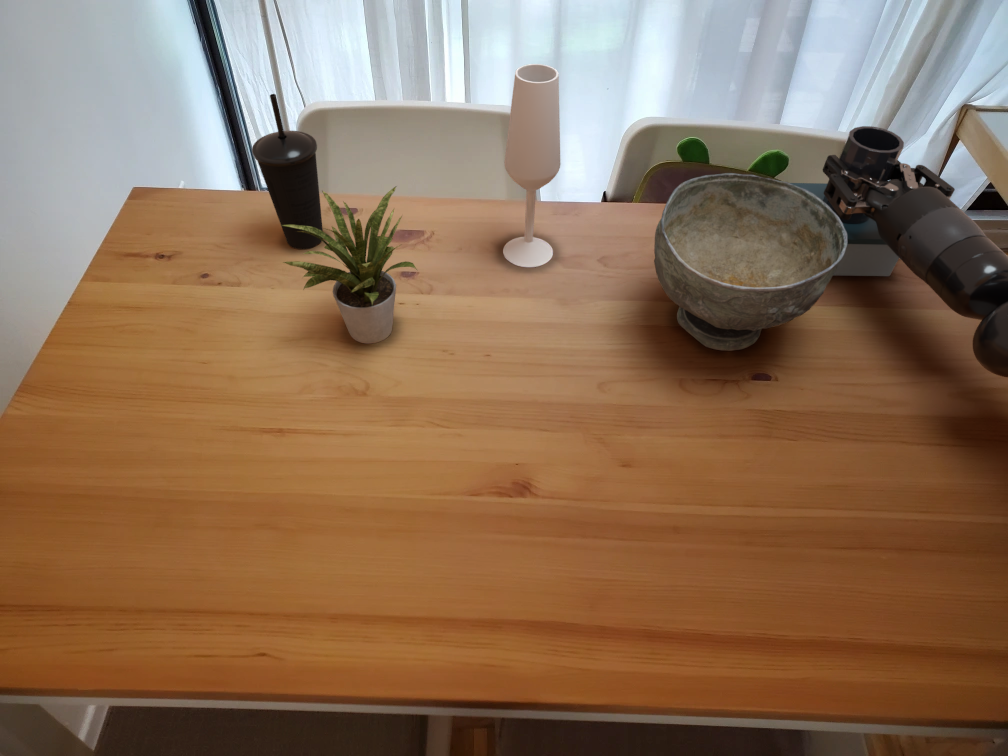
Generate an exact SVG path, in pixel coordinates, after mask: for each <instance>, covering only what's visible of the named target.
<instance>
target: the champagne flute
mask: <svg viewBox="0 0 1008 756" xmlns="http://www.w3.org/2000/svg"><path fill="white" fill-rule="evenodd" d="M512 87H513V88H512V96H511V103H510V104H511V105H510V112H509V113H510V114H509V121H508V129H507V138H506V147H505V155H504V169H505V171H506V173H507V174H508V176H509V177H510V179H511V180H512V181H513V182H514V183H516V184H517V185H518V186H519V187H521V189H524V190H525V212H524V234H523V236H519V237H515V238H512V239H510V240H509V241H507V242H506V244H505V245H504V246H503V249H502V253H503V257H504V258H505V259H506V260H507V261H508V262H509V263H511V264H512V265H515V266H518V267H522V268H535V267H536V268H537V267H540V266H543V265H545V264H547V263H548V262H550V260H551V259H552V258H553V255H554V249H553V248H552V246H551V244H549V242H547V241H546V240H544V239H542V238H539V237H535V236H534V231H535V214H536V195H537V194H536V193H537V190H540V189H542V188H543V187H544V186H546V185H548V184H549V183H551V182H552V180H554V178H555V177H557V174H559V171H560V169H561V127H560V126H561V123H560V119H561V117H560V76H559V71H558V70H557V68H555V67H553V66H551V65H548V64H544V63H529V64H524V65H521V66H519V67H518V68H517V69H516V70H515V72H514V80H513V86H512Z"/></svg>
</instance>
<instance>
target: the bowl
mask: <svg viewBox="0 0 1008 756" xmlns="http://www.w3.org/2000/svg"><path fill="white" fill-rule="evenodd" d="M790 183H791V182H788V181H783V180H778V179H773V178H770V177H762V176H759V175H756V174H755V175H754V174H741V173H735V172H734V173H733V172H724V173H718V174H717V173H716V174H705V175H701V176H697V177H694V178H690V179H687V180H685V181H683V182H681V183H680V184H678V186H676V187H675V188H674V190H672V192H671V194H670V196H669V197H668V198H667V201H666V203H665V205H664V208H663V210H662V213H661V217H660V220H659V221H658V223H657V224H656V228H655V232H654V246H653V247H654V248H653V249H654V250H653V251H654V253H653V254H654V260H653V263H654V267H655V268H654V269H655V272H656V277H657V280H658V282H659V284H660V286H661V288H662V290H663V291H664V293H665V294H666V296H667V298H668V299H669V300H671V301H672V302H673V303H674V304H676V305H677V306H678V310H677V313H676V320H677V323H678V325H679V326H680V327H681V328H683V329H684V330H685V331H686V332H687V333H688V334H689V335H690V336H692V337H693V338H694V339H695V340H697V342H698V343H700V344H701V345H702V346H704V347H706V348H709V349H713V350H718V351H729V352H733V351H739V350H744V349H746V348H748V347H750V346H752V345H754V344H755V343H757V341H758V339H760V335H761V332H762V329H770V328H774V327H778V326H781V325H784V324H786V323H789V322H791V321H793V320H794V319H796V318H798V317H800V316H802V315H803V314H805V313H806V312H808V311H810V310H811V309H812V308H813V307H814V305H815V304H816V303H817V302H818V301H819V299H821V297H822V296H823V295H824V292H825V291H826V288H827V286H828V285H829V284H830V283H831V280H832V278H833V276H834V275H833V274H834V273H835V271H836V269H837V267H838V264H839V262H840V260H841V259H842V257H843V255H844V253H845V251H846V247H847V232H846V230H845V228H844V226H843V224H842V222H841V220H840V218H839V217H838V216H837V215H836V214H835V213H834V211H833V210H832V209H831V208H830V207H829V206H828V205H827V204H826V203H825V202H823V201H822V200H821V199H820V198H818V197H817V196H816V195H814V194H813V193H811V192H809V191H807V190H806V189H803V188H800V187H797V186H795V185H792V184H790Z"/></svg>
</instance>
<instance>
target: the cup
mask: <svg viewBox="0 0 1008 756" xmlns="http://www.w3.org/2000/svg"><path fill="white" fill-rule="evenodd" d="M904 146H905V142H904V140H903V139H902V138H901V136H899V135H898V134H896V133H895V132H893V131H891V130H889V129H886V128H882V127H877V126H872V125H871V126H870V125H869V126H868V125H867V126H866V125H863V126H857V127H854V128H852V129H851V130H850V131H849V132H848V134H847V137H846V139H845V142H844V145H843V147H842V150H841V152H840V153H839V154H840V155H839V156H838V158H839V159H840V160H841V161H842V162H843V163H844V164H845V165H846V166H847V167H848V168H849V171H852V172H854V173H856V174H858V175H860V176H863V175H865V174H867V175H869V176H871V177H873V178H876V179H878V180H880V181H889V180H888V179H889V177H890V175H891V173H892V171H893V169H894V167H895V164H896V162H897V160H898V161H899V158H900V156H901V154H902V152H903V149H904ZM847 185H848V187H849V188H851V189H854V187H855V184H854V183H853V182H851V181H849V182H848V184H847ZM869 187H870V186H868V185H866V186H865V188H864V190H863V193H862V198H863V199H864V198H865V195H866V193H867V190H868V188H869ZM822 201H823V202H825V203H826V204H827V205H828V206H829V207H830V208H831V209H832V210H833V211H834V213H835V214H836V215H837V216H838V217H839V218H840V220H841V222H842V223H847V224H861V223H864V222H866V221H868V220H869V219H870V218H869V217H867V216H865V215H864V213H853V214H852V215H851V218H850V219H848V220H845V219H842V218H841V217H840V216H839V215H838V213H837V212H836V210H835V209H834V208H833V206H832V205H831V203H830V202H829V201H828V199H827V198H826V196H825V195H824V197H823V200H822Z"/></svg>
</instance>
